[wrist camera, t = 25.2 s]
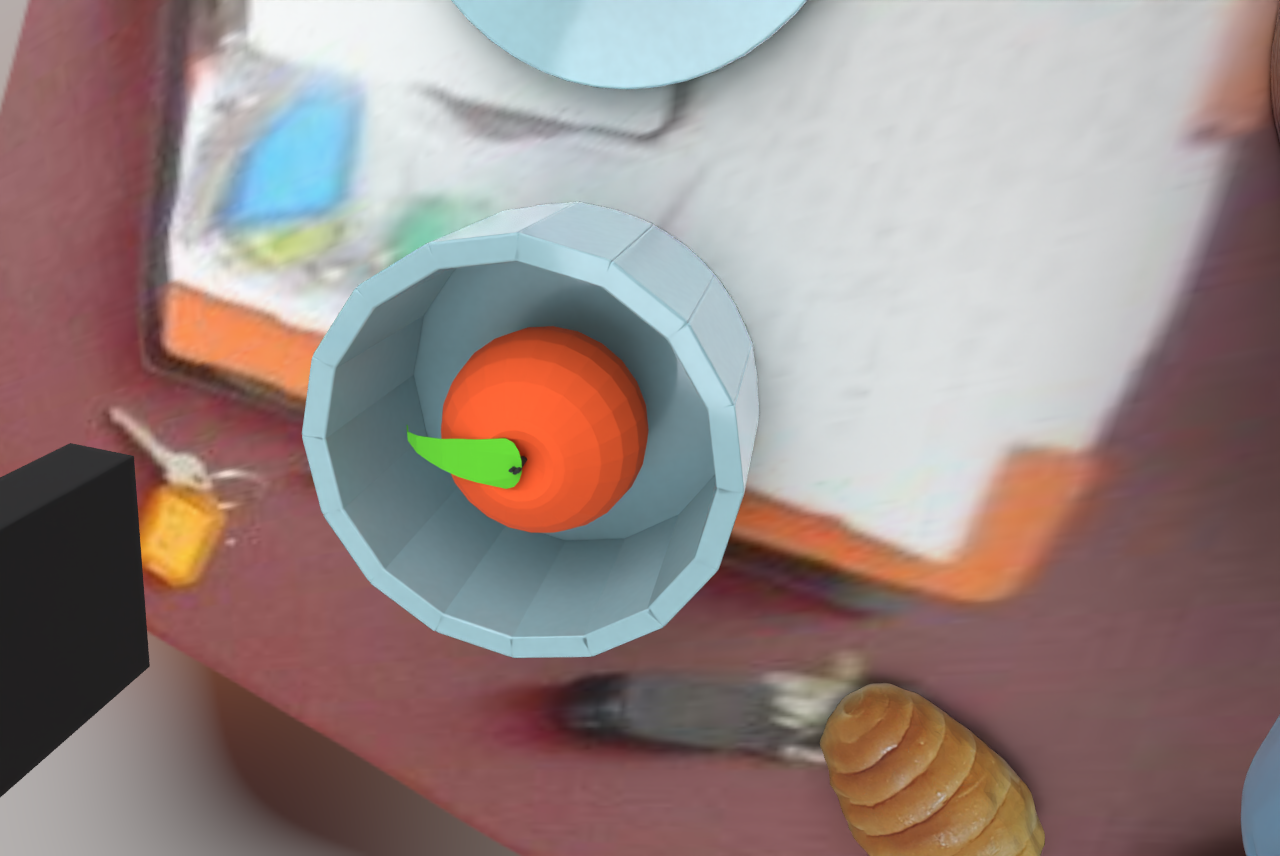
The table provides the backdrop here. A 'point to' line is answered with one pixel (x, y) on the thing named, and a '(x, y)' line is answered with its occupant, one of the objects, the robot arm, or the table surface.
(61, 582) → the robot arm
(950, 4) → the table surface
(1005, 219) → the table surface
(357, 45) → the table surface
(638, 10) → the lid
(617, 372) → the clementine
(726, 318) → the pot
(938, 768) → the pastry
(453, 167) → the table surface
